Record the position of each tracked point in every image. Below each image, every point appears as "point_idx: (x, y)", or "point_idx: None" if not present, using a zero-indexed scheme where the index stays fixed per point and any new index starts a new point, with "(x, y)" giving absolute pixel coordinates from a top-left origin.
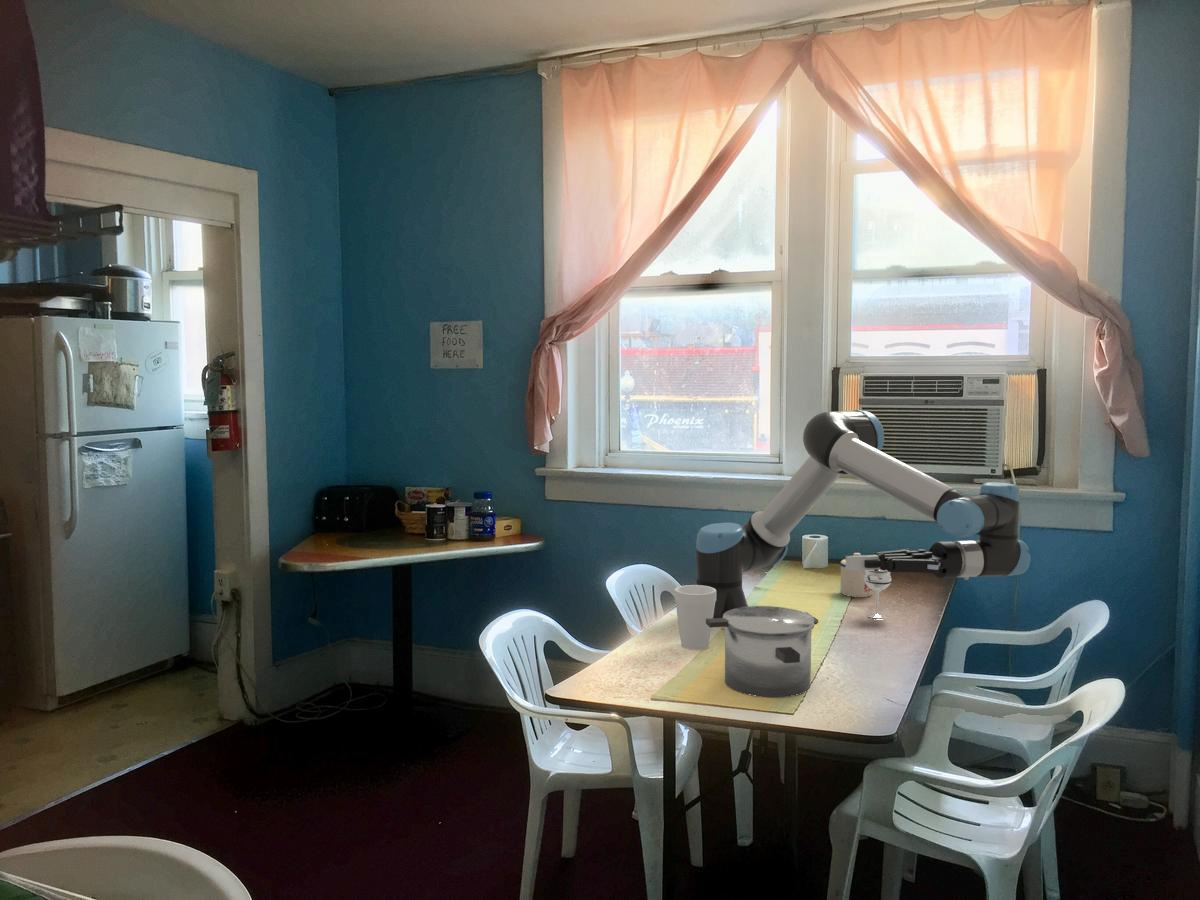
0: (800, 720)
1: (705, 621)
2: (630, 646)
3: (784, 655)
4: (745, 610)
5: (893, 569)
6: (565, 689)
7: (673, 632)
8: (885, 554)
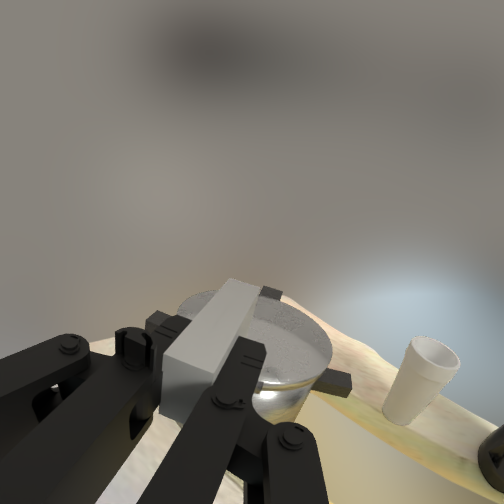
0: (111, 346)
1: (399, 385)
2: (393, 367)
3: (157, 311)
4: (309, 332)
5: (57, 389)
6: (287, 300)
7: (442, 411)
8: (207, 456)
